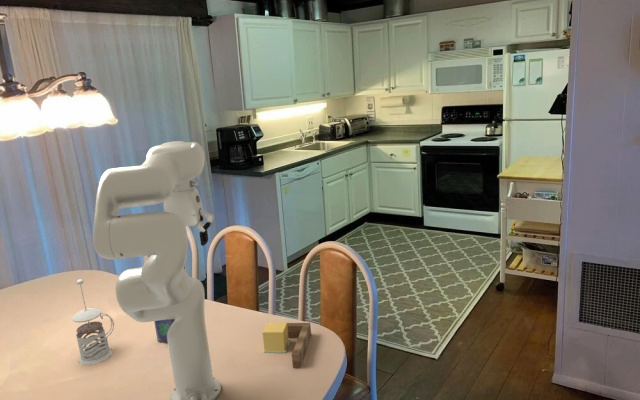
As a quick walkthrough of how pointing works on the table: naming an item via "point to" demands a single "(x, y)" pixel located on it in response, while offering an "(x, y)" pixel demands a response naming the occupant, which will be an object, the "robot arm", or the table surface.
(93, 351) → the french press
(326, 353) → the table surface
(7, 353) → the table surface
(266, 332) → the cube
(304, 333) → the brown l-shaped piece
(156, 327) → the purple clover tin
